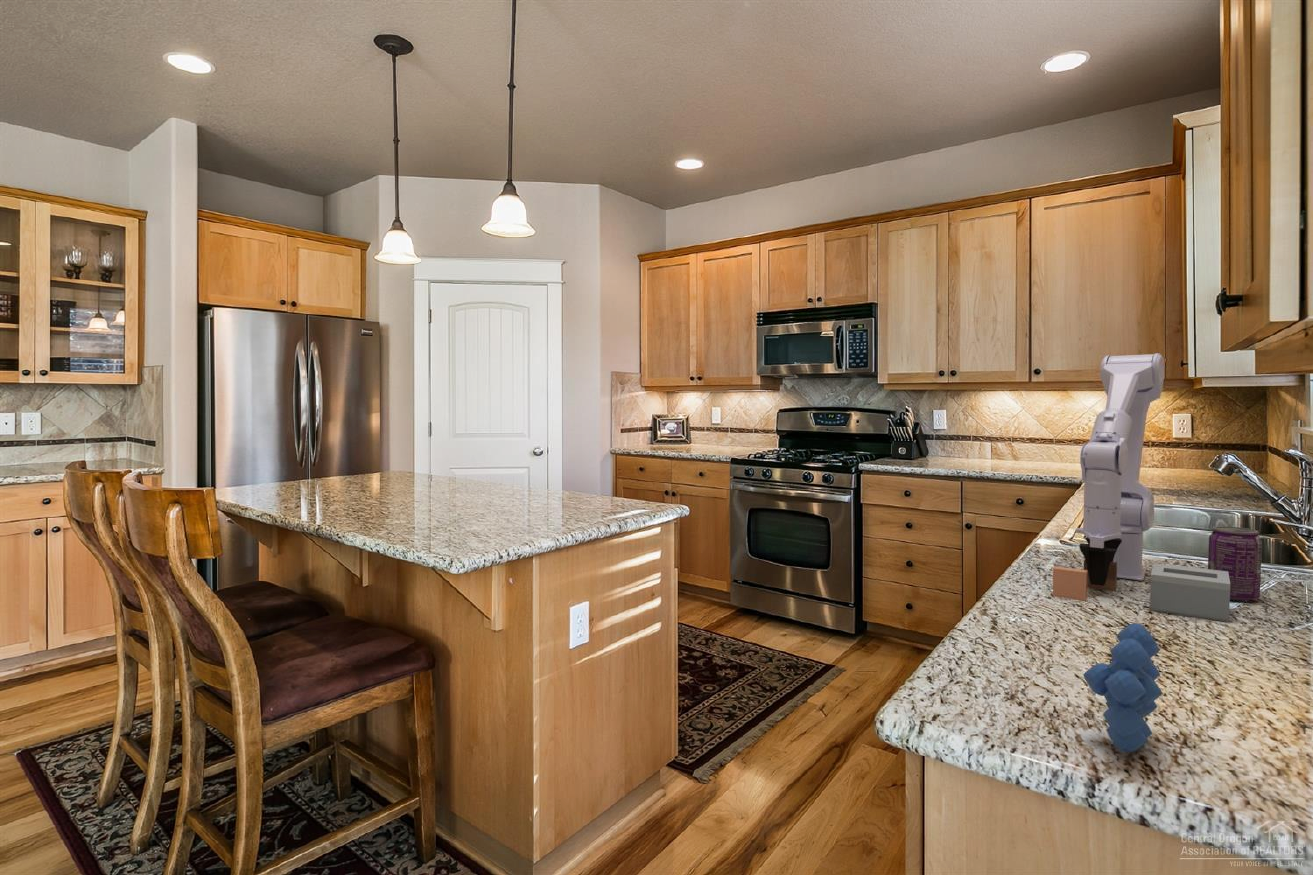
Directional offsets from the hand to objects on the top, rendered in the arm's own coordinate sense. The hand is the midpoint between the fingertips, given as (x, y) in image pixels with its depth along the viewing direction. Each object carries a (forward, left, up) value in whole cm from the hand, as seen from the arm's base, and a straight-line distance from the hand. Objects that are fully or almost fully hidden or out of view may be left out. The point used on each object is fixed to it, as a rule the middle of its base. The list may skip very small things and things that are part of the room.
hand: (1099, 580), depth 126 cm
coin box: (+6, +13, -1) cm, 14 cm away
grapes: (+66, +8, -2) cm, 67 cm away
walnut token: (0, 0, -2) cm, 2 cm away
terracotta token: (+10, -3, -2) cm, 11 cm away
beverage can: (-7, +19, -2) cm, 20 cm away
